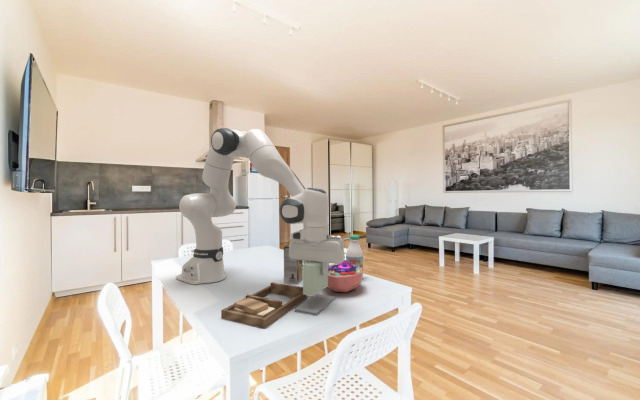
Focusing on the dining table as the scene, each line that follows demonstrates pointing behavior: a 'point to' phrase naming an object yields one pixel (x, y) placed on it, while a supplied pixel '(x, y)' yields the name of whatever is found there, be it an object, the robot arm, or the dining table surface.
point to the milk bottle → (355, 252)
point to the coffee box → (292, 268)
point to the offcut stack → (253, 307)
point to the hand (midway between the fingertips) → (316, 273)
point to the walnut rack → (277, 304)
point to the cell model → (344, 276)
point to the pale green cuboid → (314, 278)
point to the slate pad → (315, 304)
